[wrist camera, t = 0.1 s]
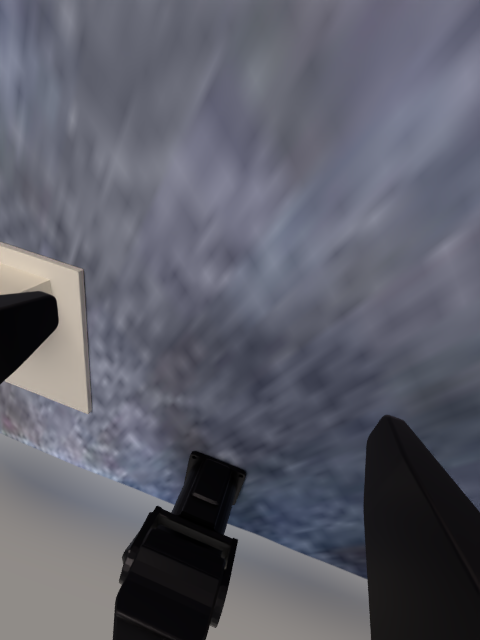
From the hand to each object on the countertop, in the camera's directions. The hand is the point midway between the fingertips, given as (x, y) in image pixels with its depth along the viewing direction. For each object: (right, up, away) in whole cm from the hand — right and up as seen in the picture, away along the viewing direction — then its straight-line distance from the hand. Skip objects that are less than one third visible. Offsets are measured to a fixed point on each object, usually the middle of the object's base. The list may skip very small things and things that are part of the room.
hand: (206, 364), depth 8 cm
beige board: (-21, 0, +23) cm, 32 cm away
